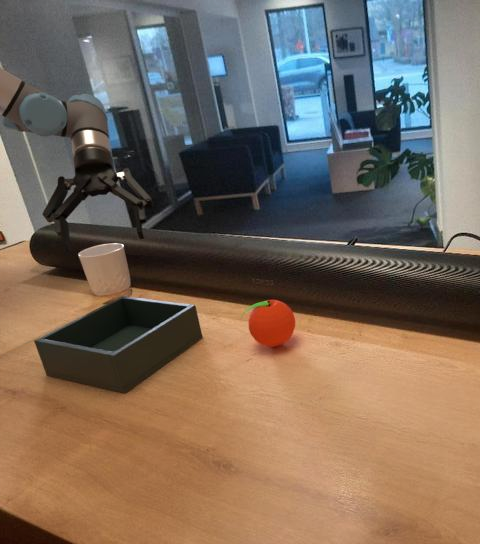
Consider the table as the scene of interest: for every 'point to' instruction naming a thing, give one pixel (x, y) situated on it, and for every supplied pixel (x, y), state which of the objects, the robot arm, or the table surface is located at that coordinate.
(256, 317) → the clementine
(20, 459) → the table surface
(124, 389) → the open dark box
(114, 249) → the white cup
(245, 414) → the table surface
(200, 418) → the table surface
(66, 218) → the robot arm
